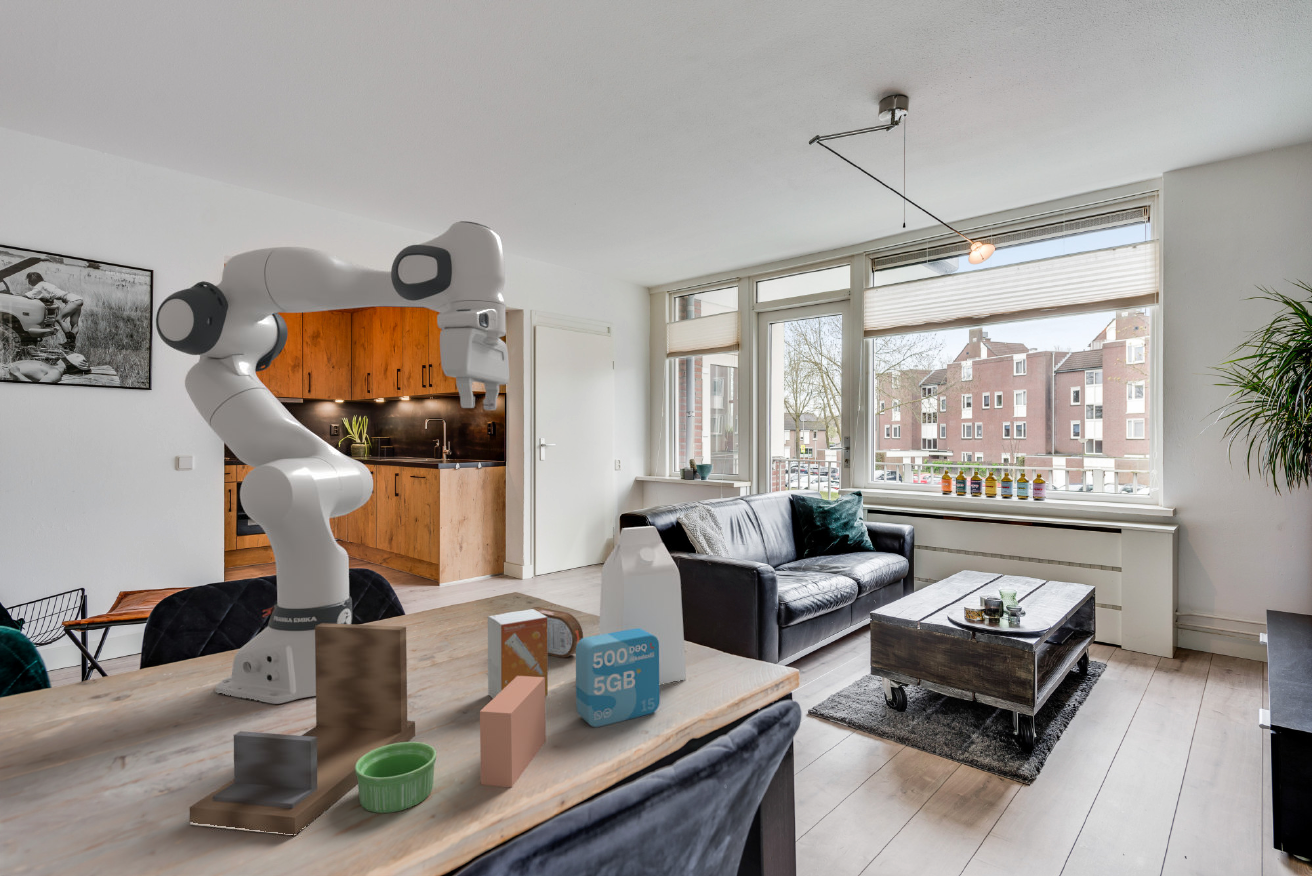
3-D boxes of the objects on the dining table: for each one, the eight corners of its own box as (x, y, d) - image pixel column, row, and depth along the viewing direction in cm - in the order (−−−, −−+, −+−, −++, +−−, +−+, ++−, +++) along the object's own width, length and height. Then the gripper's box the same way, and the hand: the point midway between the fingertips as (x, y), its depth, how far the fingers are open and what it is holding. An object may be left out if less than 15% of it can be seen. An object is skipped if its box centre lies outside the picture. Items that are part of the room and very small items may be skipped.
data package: (588, 730, 95) (587, 646, 95) (575, 718, 99) (574, 638, 99) (660, 712, 101) (659, 633, 101) (646, 702, 105) (645, 626, 105)
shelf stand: (189, 825, 73) (187, 679, 73) (332, 729, 96) (331, 619, 96) (295, 836, 71) (293, 686, 70) (415, 735, 94) (413, 622, 94)
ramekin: (446, 775, 83) (445, 740, 83) (423, 816, 74) (422, 777, 74) (373, 777, 83) (373, 742, 83) (341, 818, 74) (341, 779, 74)
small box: (501, 707, 104) (500, 624, 103) (487, 694, 109) (486, 615, 109) (549, 696, 108) (548, 616, 108) (533, 684, 113) (532, 607, 113)
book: (480, 785, 81) (479, 711, 81) (518, 740, 93) (517, 675, 93) (512, 787, 80) (511, 713, 80) (545, 742, 92) (544, 677, 92)
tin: (584, 657, 127) (584, 613, 127) (574, 662, 124) (573, 617, 124) (526, 645, 135) (525, 603, 135) (515, 649, 132) (514, 607, 132)
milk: (657, 659, 125) (655, 521, 125) (686, 680, 114) (684, 529, 114) (597, 670, 120) (595, 526, 120) (621, 692, 109) (619, 534, 109)
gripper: (483, 334, 119) (484, 411, 119) (431, 313, 98) (433, 406, 99) (517, 333, 118) (518, 410, 118) (472, 312, 98) (474, 406, 98)
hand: (479, 409), depth 108 cm, fingers open, 8 cm apart
